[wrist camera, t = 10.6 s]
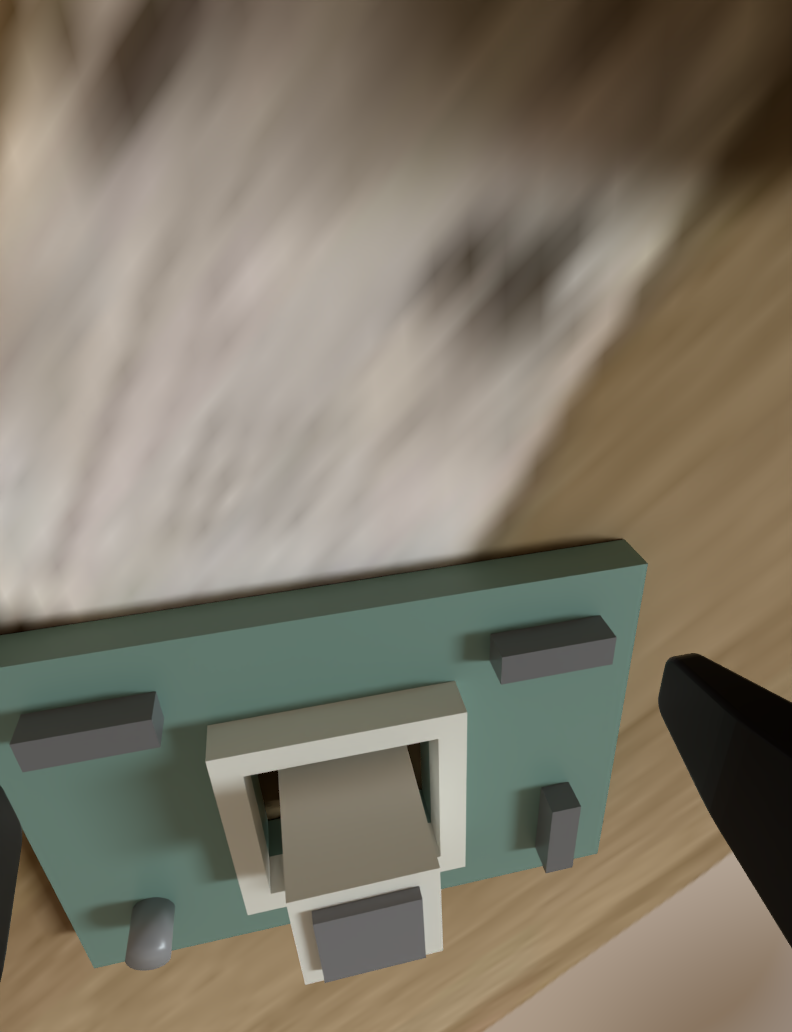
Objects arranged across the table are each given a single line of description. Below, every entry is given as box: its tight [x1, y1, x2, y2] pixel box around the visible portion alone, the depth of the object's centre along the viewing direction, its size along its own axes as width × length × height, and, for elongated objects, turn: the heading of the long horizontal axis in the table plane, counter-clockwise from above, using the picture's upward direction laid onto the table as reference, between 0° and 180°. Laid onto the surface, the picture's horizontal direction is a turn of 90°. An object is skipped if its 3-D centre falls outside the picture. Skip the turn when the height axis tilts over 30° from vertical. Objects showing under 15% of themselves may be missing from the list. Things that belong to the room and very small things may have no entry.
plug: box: [278, 745, 443, 985], centre depth 23 cm, size 4×6×7 cm
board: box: [0, 539, 648, 970], centre depth 25 cm, size 22×16×3 cm
